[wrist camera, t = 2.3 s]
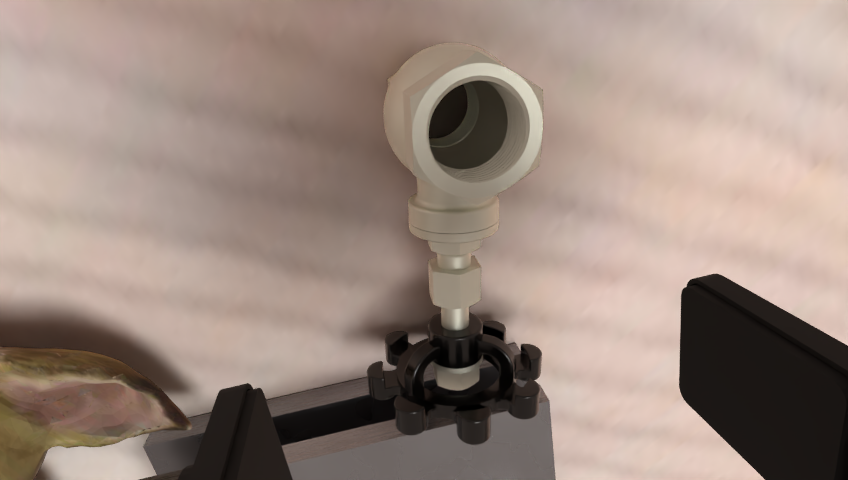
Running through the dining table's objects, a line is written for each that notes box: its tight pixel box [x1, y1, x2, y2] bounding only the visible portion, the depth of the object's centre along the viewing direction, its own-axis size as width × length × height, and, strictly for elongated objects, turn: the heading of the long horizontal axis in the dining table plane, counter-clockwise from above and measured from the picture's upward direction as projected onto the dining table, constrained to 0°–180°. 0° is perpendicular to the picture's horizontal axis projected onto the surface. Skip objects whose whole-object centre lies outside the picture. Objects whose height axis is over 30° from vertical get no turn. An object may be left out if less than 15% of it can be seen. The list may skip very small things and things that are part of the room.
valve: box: [367, 43, 543, 445], centre depth 17 cm, size 7×7×12 cm
